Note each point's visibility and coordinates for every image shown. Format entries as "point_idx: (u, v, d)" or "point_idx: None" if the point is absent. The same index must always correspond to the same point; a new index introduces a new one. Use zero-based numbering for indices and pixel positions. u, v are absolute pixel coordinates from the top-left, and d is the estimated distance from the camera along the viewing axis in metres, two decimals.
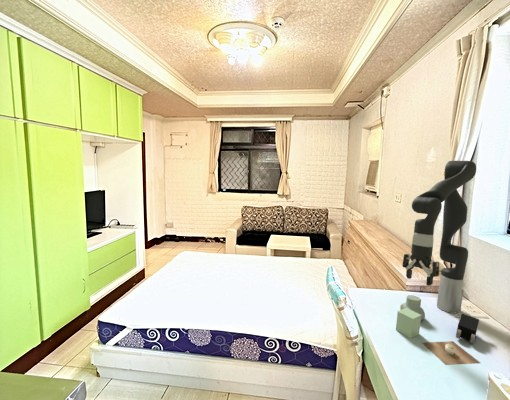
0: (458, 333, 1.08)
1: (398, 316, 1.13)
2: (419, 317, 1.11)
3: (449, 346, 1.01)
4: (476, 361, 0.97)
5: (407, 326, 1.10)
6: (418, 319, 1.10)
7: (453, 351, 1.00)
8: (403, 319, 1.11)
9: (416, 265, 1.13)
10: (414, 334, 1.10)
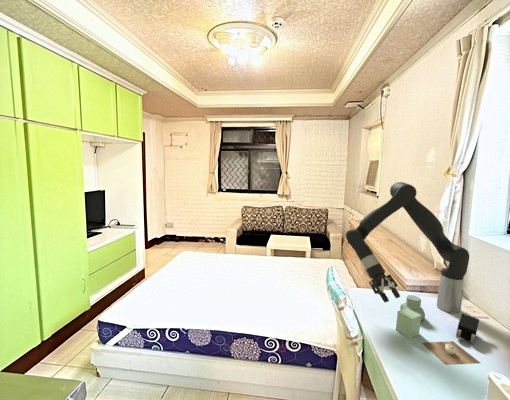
0: (458, 333, 1.08)
1: (398, 316, 1.13)
2: (419, 317, 1.11)
3: (449, 346, 1.01)
4: (476, 361, 0.97)
5: (407, 326, 1.10)
6: (418, 319, 1.10)
7: (453, 351, 1.00)
8: (403, 319, 1.11)
9: None
10: (414, 334, 1.10)
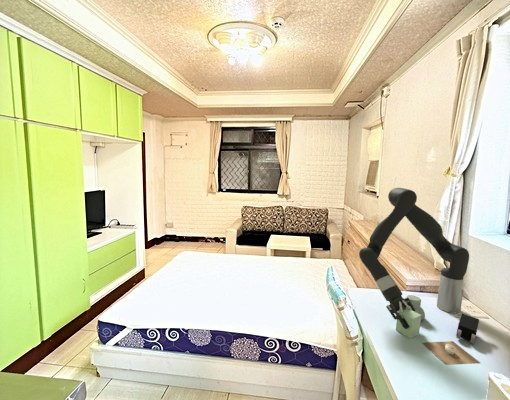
0: (458, 333, 1.08)
1: None
2: (419, 317, 1.11)
3: (449, 346, 1.01)
4: (476, 361, 0.97)
5: None
6: (418, 319, 1.10)
7: (453, 351, 1.00)
8: None
9: None
10: (414, 334, 1.10)
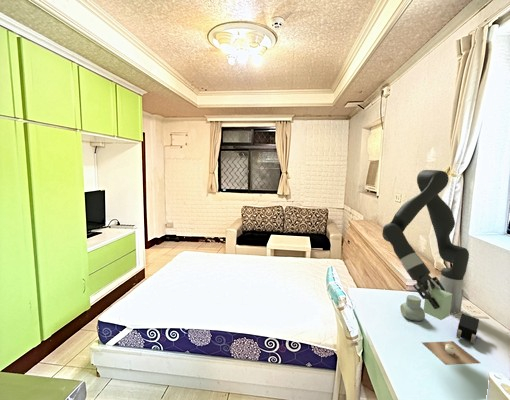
0: (458, 333, 1.08)
1: None
2: (450, 296, 1.01)
3: (449, 346, 1.01)
4: (476, 361, 0.97)
5: None
6: (449, 298, 1.01)
7: (453, 351, 1.00)
8: None
9: None
10: (445, 315, 1.01)
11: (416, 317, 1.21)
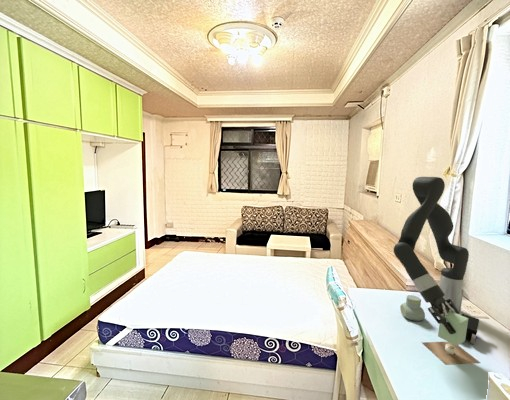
0: None
1: None
2: (466, 321, 0.98)
3: (449, 346, 1.01)
4: (476, 361, 0.97)
5: None
6: (465, 323, 0.98)
7: (453, 351, 1.00)
8: None
9: None
10: (461, 340, 0.98)
11: (416, 317, 1.21)
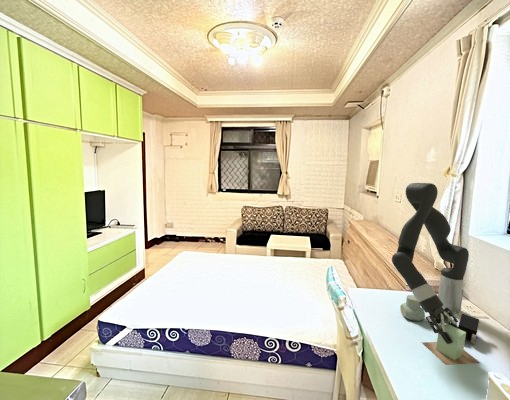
0: None
1: None
2: (464, 335, 0.99)
3: None
4: (476, 361, 0.97)
5: (451, 345, 0.98)
6: (463, 337, 0.99)
7: None
8: None
9: None
10: (458, 354, 0.98)
11: (416, 317, 1.21)
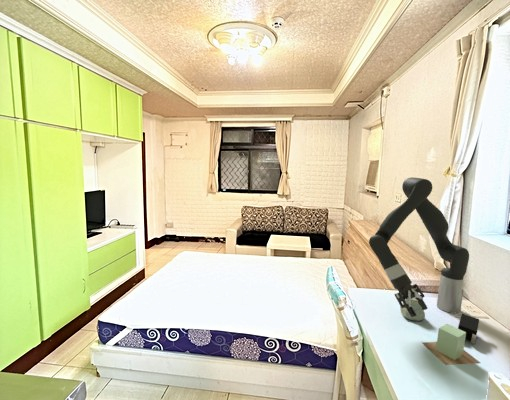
0: None
1: (439, 333, 1.01)
2: (464, 335, 0.99)
3: None
4: (476, 361, 0.97)
5: (451, 345, 0.98)
6: (463, 337, 0.99)
7: None
8: (446, 337, 0.99)
9: None
10: (458, 354, 0.98)
11: (416, 317, 1.21)
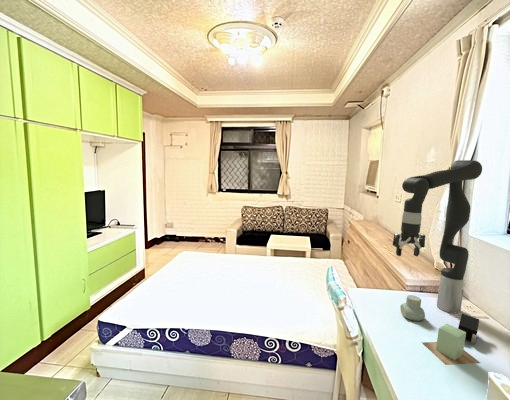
0: None
1: (439, 333, 1.01)
2: (464, 335, 0.99)
3: None
4: (476, 361, 0.97)
5: (451, 345, 0.98)
6: (463, 337, 0.99)
7: None
8: (446, 337, 0.99)
9: None
10: (458, 354, 0.98)
11: (416, 317, 1.21)
